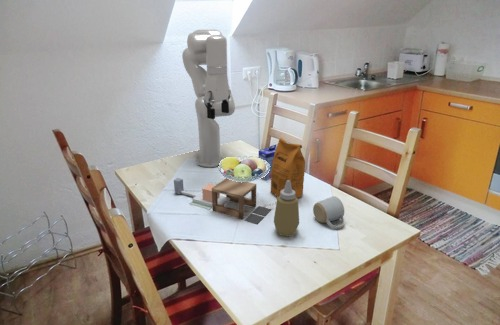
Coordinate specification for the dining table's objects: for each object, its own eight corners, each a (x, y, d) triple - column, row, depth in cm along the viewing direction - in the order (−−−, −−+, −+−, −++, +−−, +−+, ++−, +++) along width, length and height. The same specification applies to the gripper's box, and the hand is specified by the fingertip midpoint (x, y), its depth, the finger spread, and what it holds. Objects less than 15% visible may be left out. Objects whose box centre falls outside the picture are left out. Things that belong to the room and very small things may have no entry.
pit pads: (244, 220, 120) (244, 220, 119) (258, 206, 129) (258, 205, 128) (257, 224, 117) (257, 223, 117) (271, 209, 126) (271, 209, 126)
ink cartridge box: (265, 180, 149) (266, 148, 143) (257, 176, 153) (257, 145, 147) (282, 174, 155) (283, 143, 149) (273, 170, 159) (274, 140, 153)
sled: (171, 195, 135) (169, 182, 133) (182, 188, 141) (181, 175, 139) (220, 209, 126) (219, 195, 124) (230, 200, 132) (229, 187, 129)
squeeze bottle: (291, 242, 108) (294, 189, 101) (268, 234, 112) (270, 182, 105) (302, 229, 115) (306, 179, 108) (280, 222, 119) (282, 173, 112)
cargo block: (202, 199, 130) (202, 188, 128) (209, 194, 134) (209, 183, 132) (213, 202, 128) (212, 191, 126) (219, 197, 132) (219, 186, 130)
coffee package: (285, 185, 145) (287, 134, 136) (306, 197, 135) (310, 142, 127) (266, 191, 139) (267, 138, 131) (286, 204, 130) (289, 148, 122)
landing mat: (189, 203, 130) (189, 203, 130) (204, 192, 138) (204, 192, 138) (209, 209, 126) (209, 209, 126) (224, 198, 134) (224, 197, 134)
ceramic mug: (310, 217, 122) (312, 197, 119) (329, 211, 125) (331, 192, 122) (330, 233, 113) (333, 212, 110) (350, 226, 117) (353, 206, 114)
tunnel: (212, 211, 125) (211, 188, 122) (227, 198, 134) (227, 177, 130) (242, 219, 120) (242, 196, 117) (256, 206, 129) (256, 183, 125)
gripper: (221, 67, 140) (222, 109, 147) (194, 73, 126) (197, 119, 133) (237, 68, 137) (238, 111, 144) (212, 74, 123) (213, 122, 130)
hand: (218, 115), depth 138 cm, fingers open, 9 cm apart
